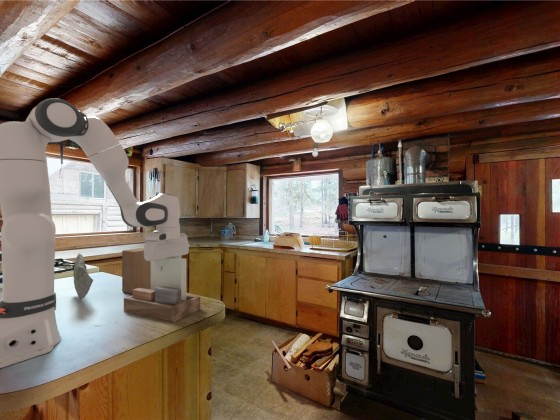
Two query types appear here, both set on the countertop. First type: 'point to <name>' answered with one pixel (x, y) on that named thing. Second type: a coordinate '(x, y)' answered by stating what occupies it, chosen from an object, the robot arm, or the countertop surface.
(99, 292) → the countertop surface
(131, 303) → the walnut tray
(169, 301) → the charcoal offcut
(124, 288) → the wooden block
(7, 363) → the robot arm
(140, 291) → the cedar offcut
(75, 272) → the rock
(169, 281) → the white rectangular panel
